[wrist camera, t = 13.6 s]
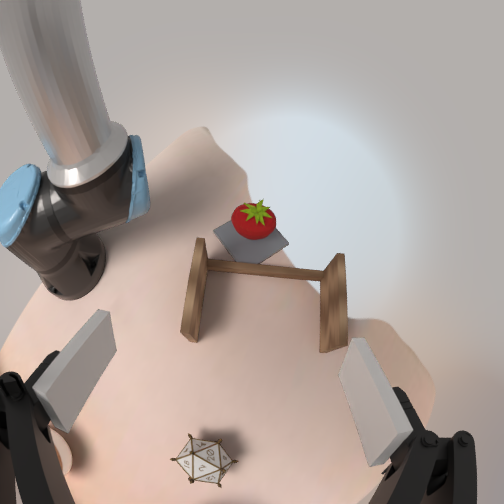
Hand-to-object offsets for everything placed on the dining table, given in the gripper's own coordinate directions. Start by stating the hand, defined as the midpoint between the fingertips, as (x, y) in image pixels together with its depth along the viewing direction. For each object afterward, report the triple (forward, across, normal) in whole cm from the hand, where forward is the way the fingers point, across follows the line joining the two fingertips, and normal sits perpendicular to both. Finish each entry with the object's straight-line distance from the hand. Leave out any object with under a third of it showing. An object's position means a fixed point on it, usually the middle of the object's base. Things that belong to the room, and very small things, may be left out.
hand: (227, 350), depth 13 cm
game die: (+11, -2, -32) cm, 34 cm away
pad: (+38, +1, -4) cm, 38 cm away
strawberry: (+37, +1, -4) cm, 38 cm away
